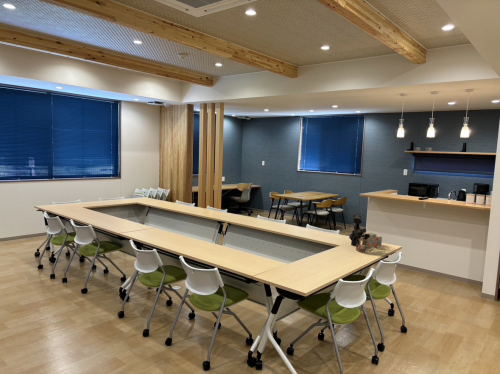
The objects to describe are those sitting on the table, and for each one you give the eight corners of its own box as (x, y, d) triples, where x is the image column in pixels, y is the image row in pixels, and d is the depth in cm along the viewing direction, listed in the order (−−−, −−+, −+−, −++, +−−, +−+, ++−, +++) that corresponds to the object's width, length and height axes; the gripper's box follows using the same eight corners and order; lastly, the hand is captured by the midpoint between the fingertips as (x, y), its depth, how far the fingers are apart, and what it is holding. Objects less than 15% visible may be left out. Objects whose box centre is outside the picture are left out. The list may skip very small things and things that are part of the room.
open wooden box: (355, 249, 325) (357, 238, 324) (362, 249, 326) (363, 238, 325) (359, 251, 319) (360, 240, 318) (365, 252, 320) (366, 240, 319)
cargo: (357, 249, 324) (358, 245, 324) (361, 249, 325) (362, 245, 325) (359, 250, 320) (360, 246, 320) (363, 250, 321) (364, 246, 321)
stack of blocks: (376, 243, 357) (377, 232, 356) (381, 245, 352) (382, 233, 351) (361, 245, 346) (363, 233, 345) (366, 247, 341) (368, 235, 340)
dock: (359, 250, 330) (359, 248, 329) (364, 247, 339) (364, 246, 339) (368, 252, 324) (368, 250, 324) (373, 249, 333) (373, 248, 333)
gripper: (351, 224, 322) (356, 239, 313) (370, 225, 326) (375, 240, 316) (347, 231, 331) (351, 245, 321) (365, 231, 334) (369, 246, 325)
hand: (362, 244), depth 321 cm, fingers closed on open wooden box, 6 cm apart
